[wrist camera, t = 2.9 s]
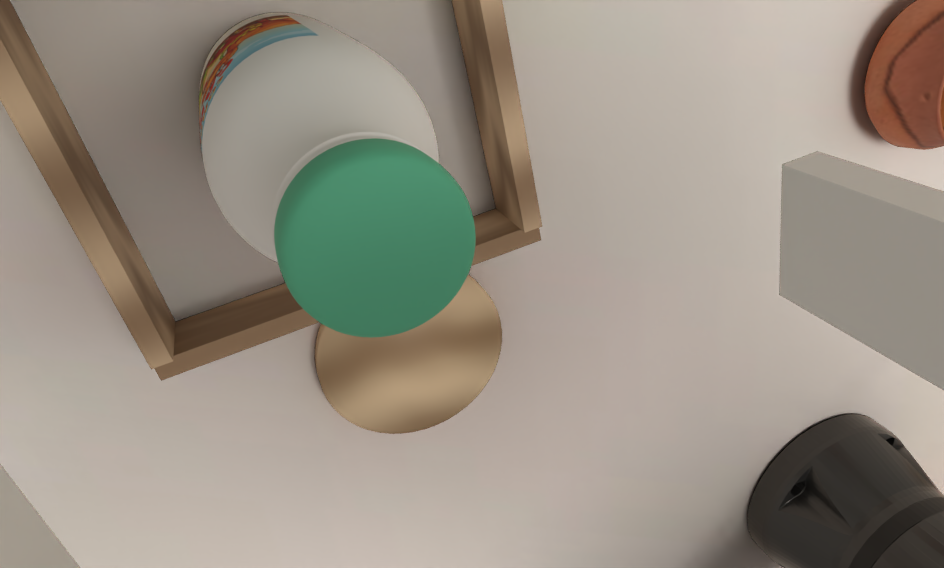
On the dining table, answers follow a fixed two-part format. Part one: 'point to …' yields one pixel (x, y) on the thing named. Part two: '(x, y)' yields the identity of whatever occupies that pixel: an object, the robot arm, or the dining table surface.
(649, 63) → the dining table surface
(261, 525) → the dining table surface
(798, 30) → the dining table surface
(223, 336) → the cold frame
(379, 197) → the milk bottle
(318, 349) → the disc
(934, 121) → the potted flower
